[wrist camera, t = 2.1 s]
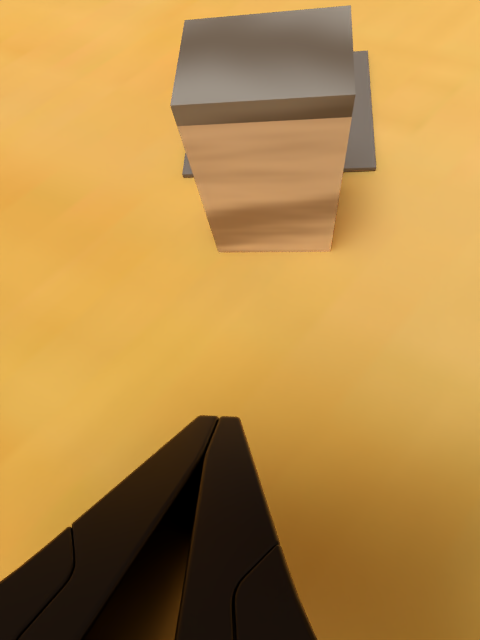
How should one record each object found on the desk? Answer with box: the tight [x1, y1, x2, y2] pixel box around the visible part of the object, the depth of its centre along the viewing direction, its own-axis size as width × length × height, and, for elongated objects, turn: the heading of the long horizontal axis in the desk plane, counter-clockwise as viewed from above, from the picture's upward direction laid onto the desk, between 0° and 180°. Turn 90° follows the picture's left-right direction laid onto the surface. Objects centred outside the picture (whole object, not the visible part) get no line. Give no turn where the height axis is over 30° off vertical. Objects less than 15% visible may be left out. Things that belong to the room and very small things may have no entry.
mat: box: [182, 51, 376, 177], centre depth 29 cm, size 11×13×1 cm
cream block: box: [170, 6, 356, 252], centre depth 21 cm, size 5×7×11 cm
